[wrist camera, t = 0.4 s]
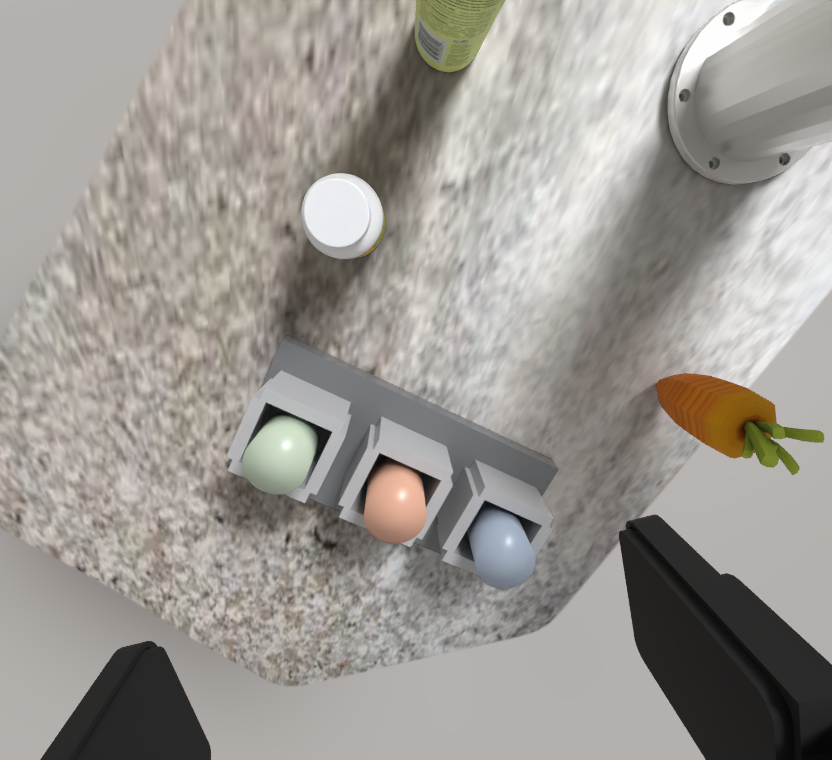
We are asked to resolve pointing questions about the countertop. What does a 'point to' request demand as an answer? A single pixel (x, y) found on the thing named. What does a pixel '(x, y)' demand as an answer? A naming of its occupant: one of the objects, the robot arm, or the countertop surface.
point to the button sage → (281, 453)
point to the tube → (453, 30)
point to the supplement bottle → (343, 216)
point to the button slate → (500, 547)
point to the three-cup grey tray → (397, 450)
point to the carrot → (729, 418)
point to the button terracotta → (395, 502)
